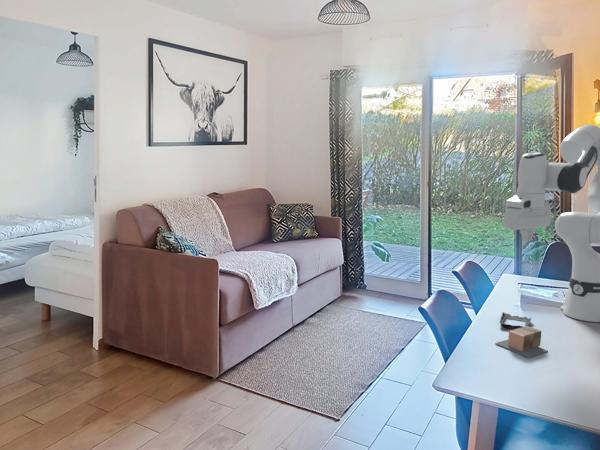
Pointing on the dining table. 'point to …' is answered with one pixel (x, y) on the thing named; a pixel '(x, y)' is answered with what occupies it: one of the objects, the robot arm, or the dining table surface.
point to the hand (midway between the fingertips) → (526, 241)
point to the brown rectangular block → (524, 338)
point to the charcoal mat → (525, 353)
